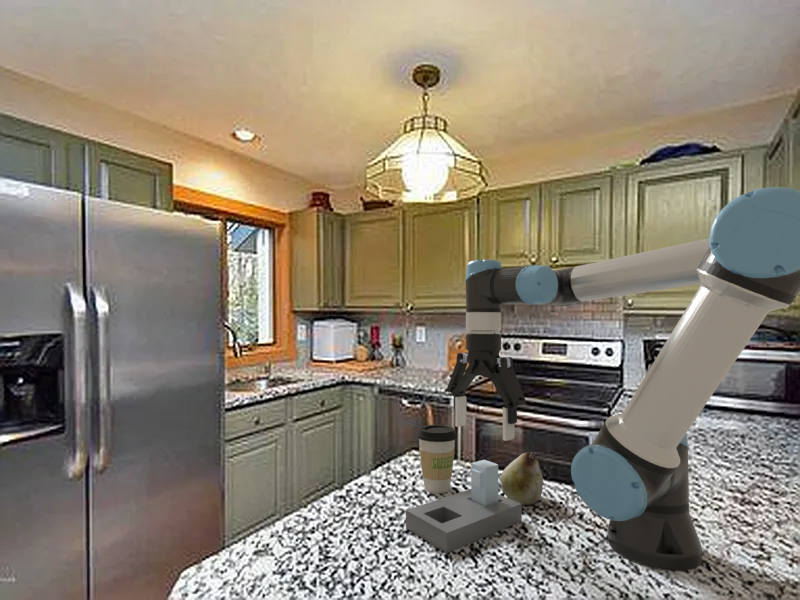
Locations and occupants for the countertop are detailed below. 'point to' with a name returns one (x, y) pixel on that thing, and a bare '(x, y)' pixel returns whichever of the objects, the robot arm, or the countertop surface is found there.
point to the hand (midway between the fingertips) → (483, 432)
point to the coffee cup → (437, 456)
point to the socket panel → (461, 520)
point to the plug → (484, 483)
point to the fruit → (523, 479)
